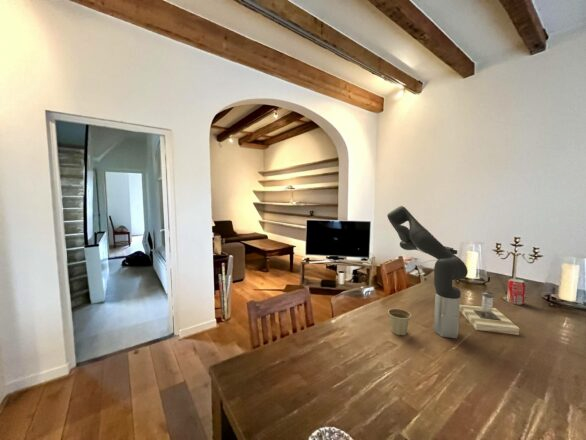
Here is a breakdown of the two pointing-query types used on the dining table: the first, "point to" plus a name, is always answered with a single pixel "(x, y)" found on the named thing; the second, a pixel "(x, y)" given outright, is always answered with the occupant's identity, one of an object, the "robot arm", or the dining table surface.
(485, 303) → the slim silver can
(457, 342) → the dining table surface
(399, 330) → the flower pot
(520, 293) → the soda can
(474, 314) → the block
